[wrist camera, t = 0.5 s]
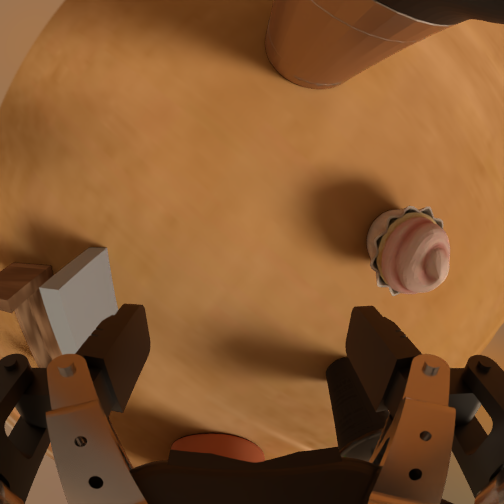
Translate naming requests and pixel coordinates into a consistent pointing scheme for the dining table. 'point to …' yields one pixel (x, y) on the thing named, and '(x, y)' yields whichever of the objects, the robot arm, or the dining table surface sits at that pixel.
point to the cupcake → (408, 250)
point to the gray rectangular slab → (79, 298)
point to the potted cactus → (220, 446)
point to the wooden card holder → (30, 308)
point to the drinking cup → (353, 412)
